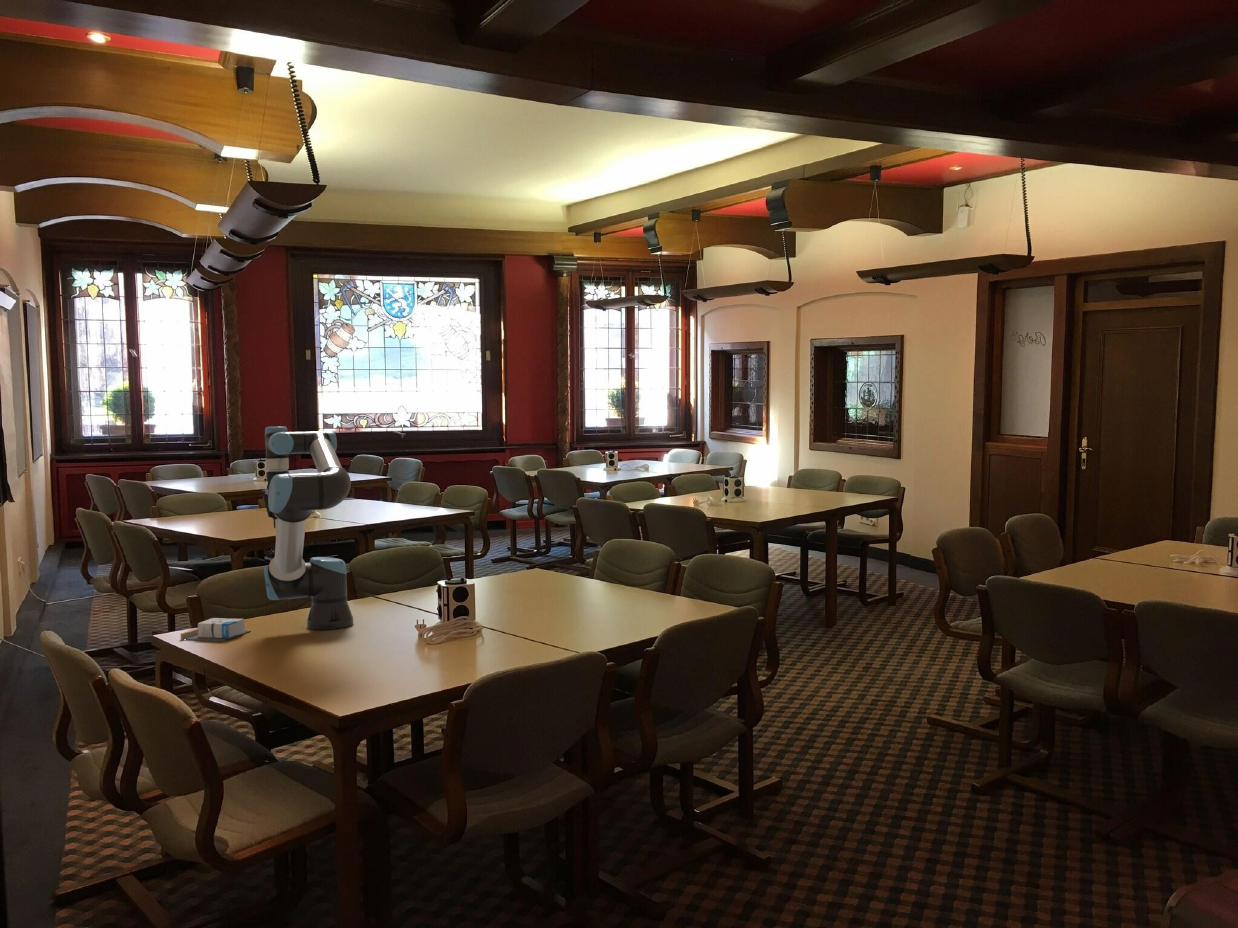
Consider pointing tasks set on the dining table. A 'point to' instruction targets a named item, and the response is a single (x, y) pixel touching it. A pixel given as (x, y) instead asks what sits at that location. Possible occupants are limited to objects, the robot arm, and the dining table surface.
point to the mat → (194, 637)
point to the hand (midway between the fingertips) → (280, 537)
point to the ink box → (221, 628)
